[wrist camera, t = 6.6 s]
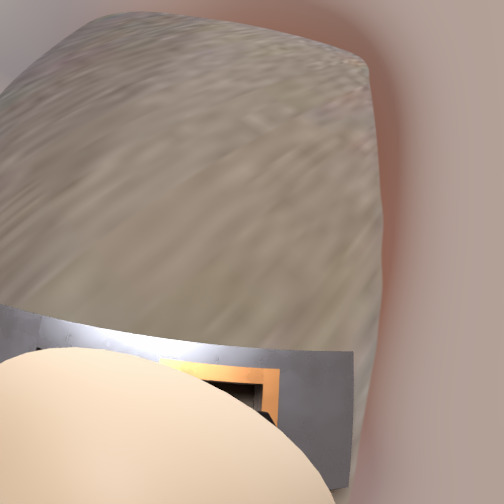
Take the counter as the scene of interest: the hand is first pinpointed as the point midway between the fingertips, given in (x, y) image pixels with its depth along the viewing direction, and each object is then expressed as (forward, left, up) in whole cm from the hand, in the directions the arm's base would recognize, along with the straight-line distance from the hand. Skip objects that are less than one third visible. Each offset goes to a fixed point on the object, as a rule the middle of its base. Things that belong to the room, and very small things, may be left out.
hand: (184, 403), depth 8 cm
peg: (-1, 0, -7) cm, 7 cm away
